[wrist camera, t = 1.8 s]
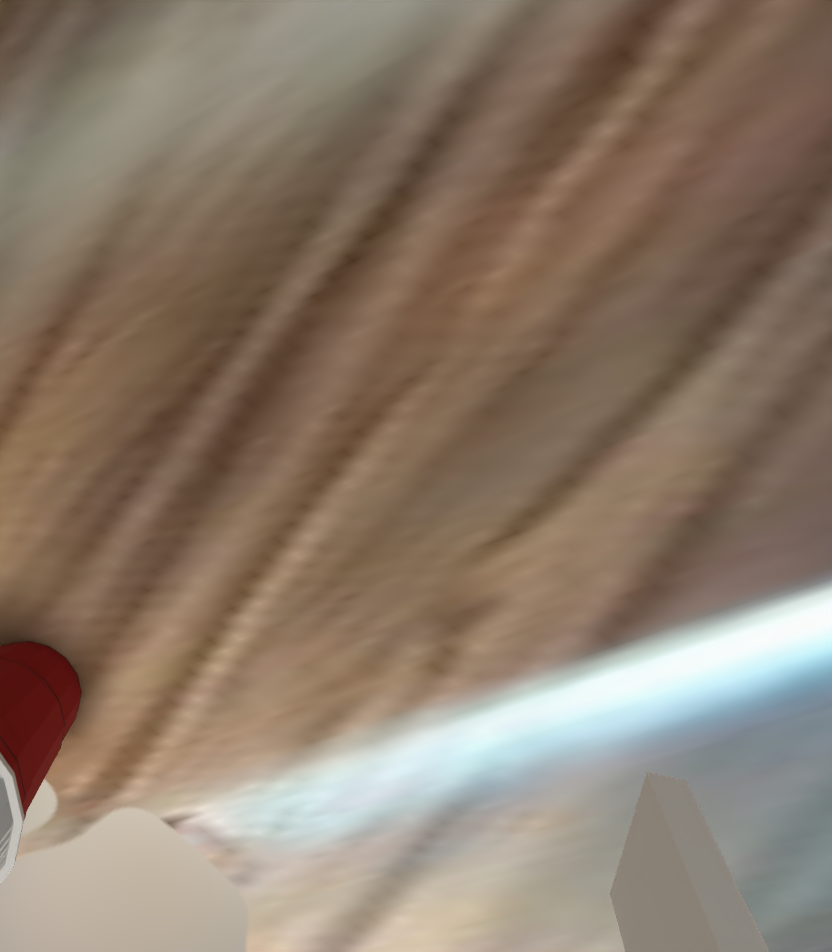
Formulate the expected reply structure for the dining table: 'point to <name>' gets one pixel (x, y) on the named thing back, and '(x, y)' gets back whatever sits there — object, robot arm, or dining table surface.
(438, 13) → the dining table surface
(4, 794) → the plastic cup
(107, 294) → the dining table surface
